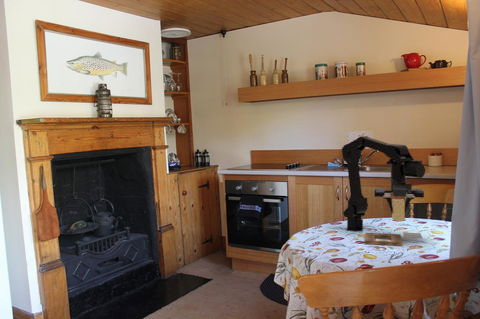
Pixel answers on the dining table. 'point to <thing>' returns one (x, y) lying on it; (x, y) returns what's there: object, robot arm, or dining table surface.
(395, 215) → the peg block
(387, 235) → the rack plate
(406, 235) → the grey square plate
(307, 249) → the dining table surface
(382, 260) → the dining table surface
